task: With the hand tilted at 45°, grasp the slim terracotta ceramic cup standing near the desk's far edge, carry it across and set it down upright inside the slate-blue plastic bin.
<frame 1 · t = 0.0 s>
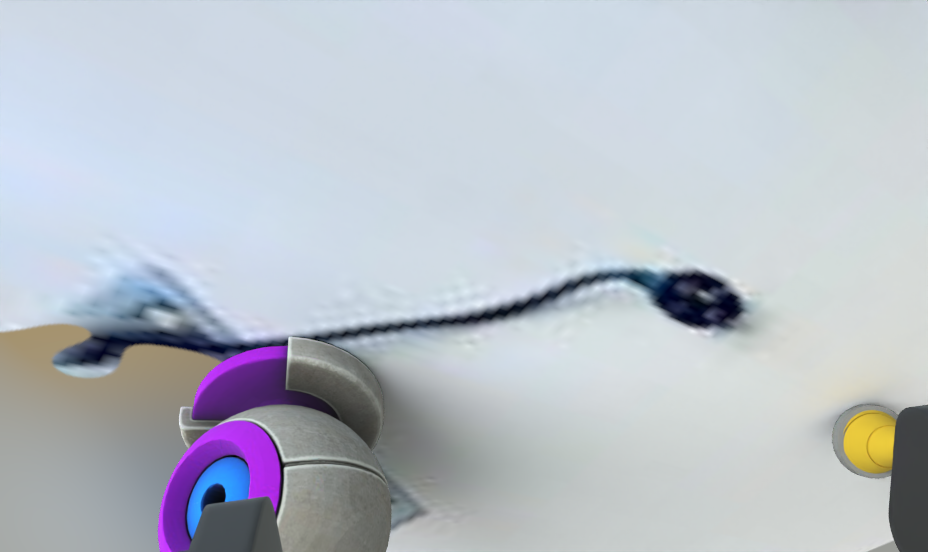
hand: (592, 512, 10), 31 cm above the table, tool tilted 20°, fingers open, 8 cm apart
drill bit: (850, 409, 62), on the table
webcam: (286, 407, 54), on the table
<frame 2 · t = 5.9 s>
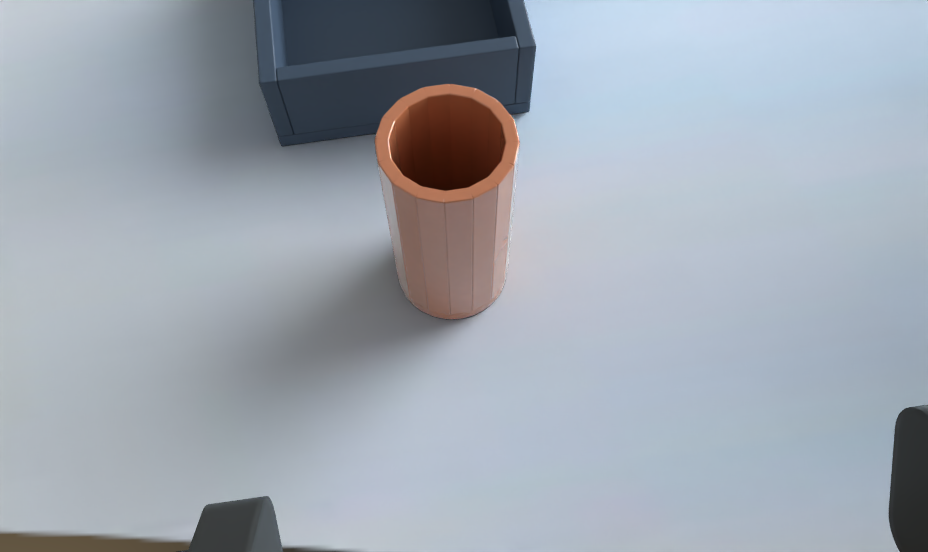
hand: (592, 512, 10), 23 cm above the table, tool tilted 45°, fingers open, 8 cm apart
cup: (452, 269, 37), on the table
bin: (389, 27, 44), on the table
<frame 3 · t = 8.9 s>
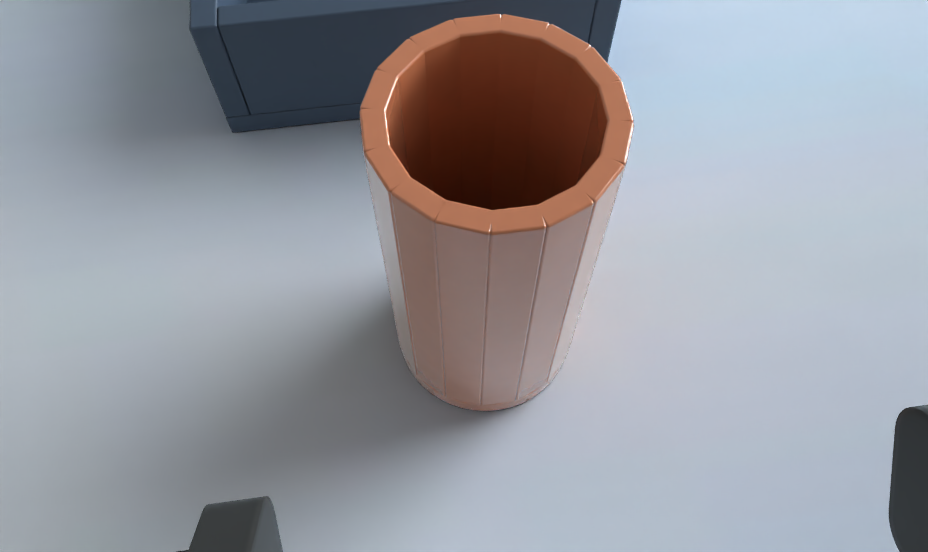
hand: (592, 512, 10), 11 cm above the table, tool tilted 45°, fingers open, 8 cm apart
cup: (484, 329, 24), on the table
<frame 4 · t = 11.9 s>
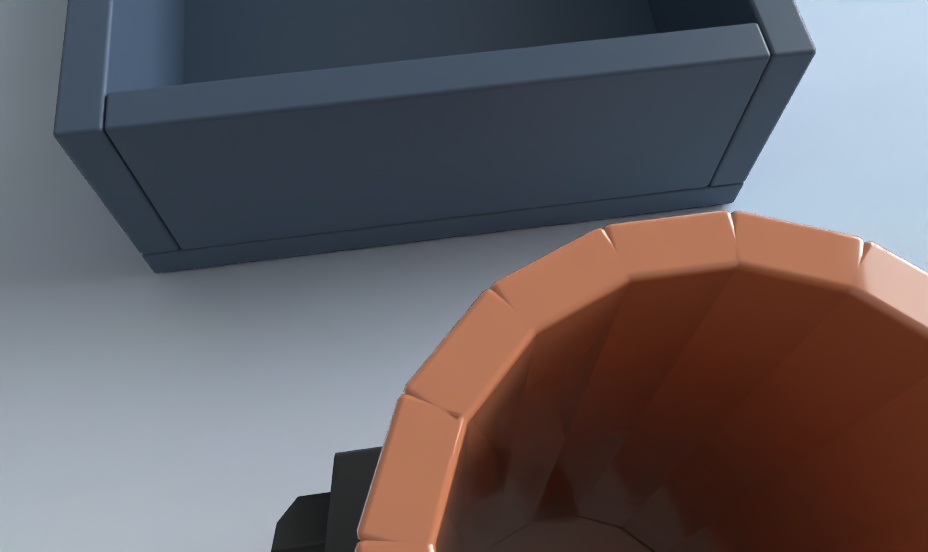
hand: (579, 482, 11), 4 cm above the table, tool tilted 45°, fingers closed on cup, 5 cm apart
bin: (415, 7, 20), on the table
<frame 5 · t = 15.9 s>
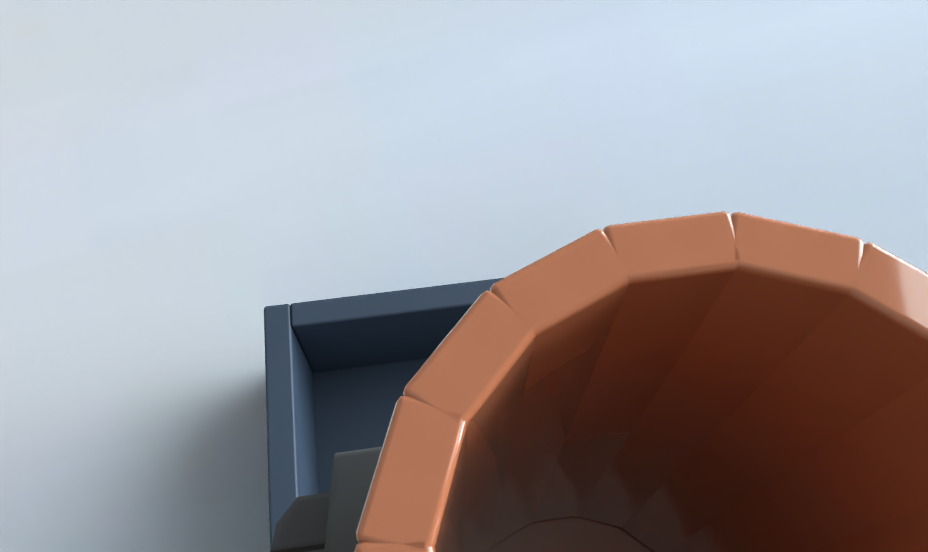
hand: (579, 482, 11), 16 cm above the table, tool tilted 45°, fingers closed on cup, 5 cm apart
bin: (497, 534, 26), on the table
when the fingers open (5 cm above the table, at t = 19.9 s): cup stays where it is, resting on bin.
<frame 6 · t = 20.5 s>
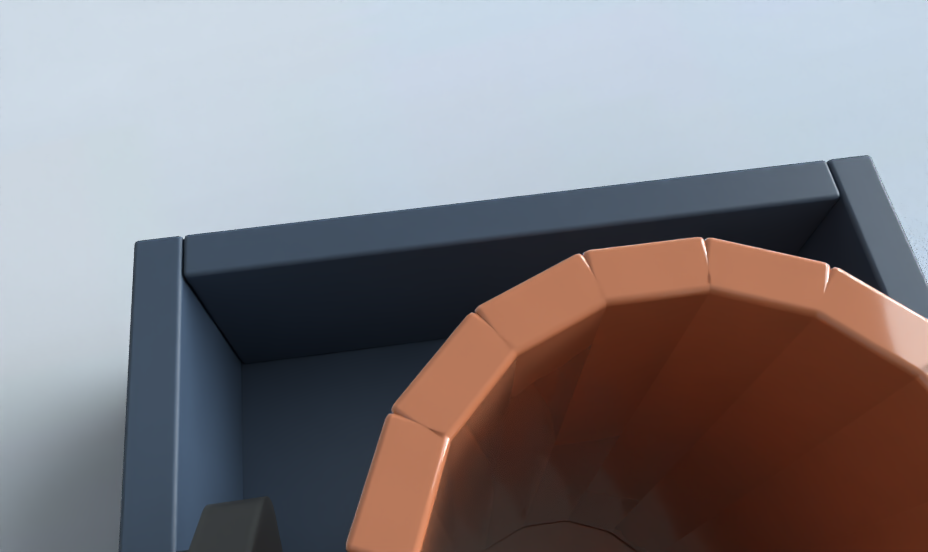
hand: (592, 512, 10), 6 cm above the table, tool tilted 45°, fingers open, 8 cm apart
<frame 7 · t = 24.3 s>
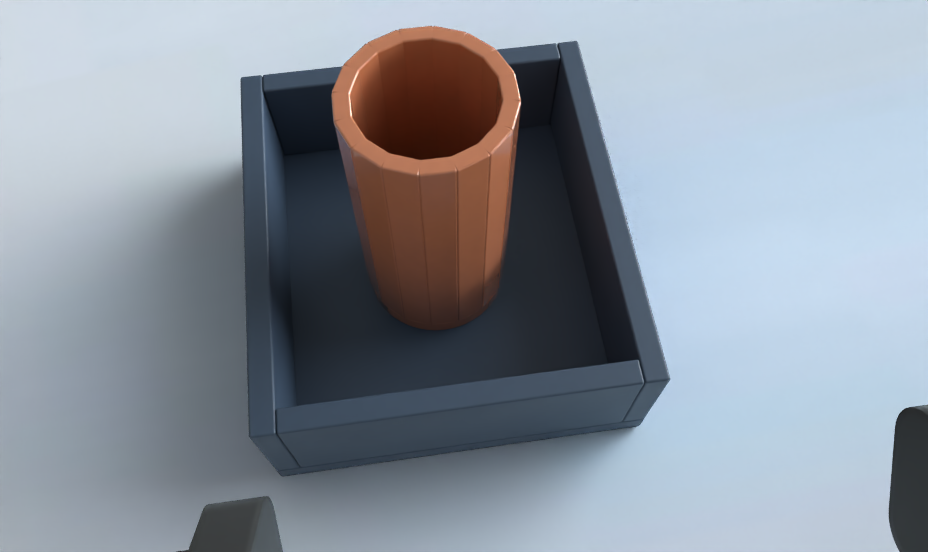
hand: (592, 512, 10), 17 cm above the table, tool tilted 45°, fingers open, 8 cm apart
cup: (436, 269, 30), point 1 cm above the table, touching bin
bin: (438, 278, 31), on the table
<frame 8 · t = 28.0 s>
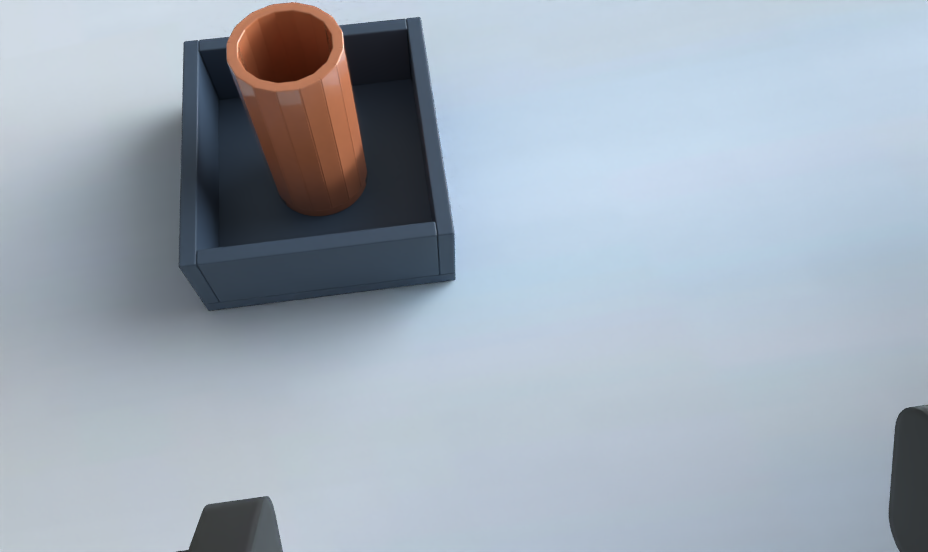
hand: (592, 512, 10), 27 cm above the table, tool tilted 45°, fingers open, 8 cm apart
cup: (321, 176, 44), point 1 cm above the table, touching bin
bin: (324, 184, 44), on the table
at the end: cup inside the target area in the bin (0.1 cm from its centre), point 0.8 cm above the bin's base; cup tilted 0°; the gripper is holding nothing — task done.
